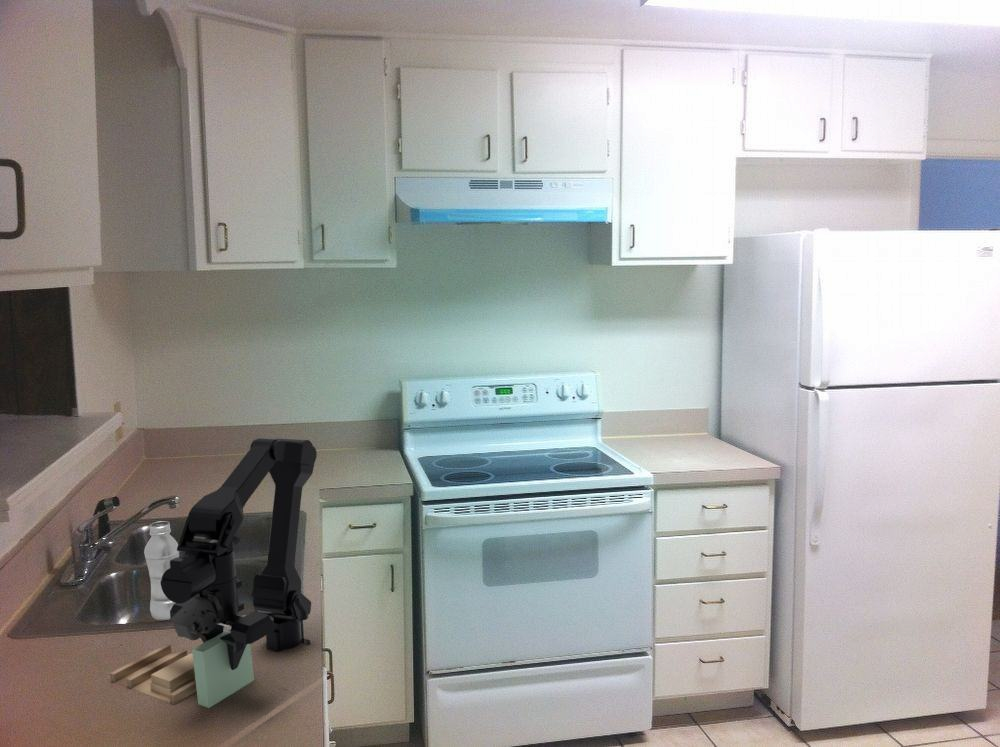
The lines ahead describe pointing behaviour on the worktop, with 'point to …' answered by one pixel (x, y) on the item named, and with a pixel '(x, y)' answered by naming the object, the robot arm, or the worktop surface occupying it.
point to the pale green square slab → (219, 671)
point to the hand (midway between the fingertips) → (225, 666)
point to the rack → (142, 668)
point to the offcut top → (175, 673)
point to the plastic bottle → (160, 566)
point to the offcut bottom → (166, 691)
